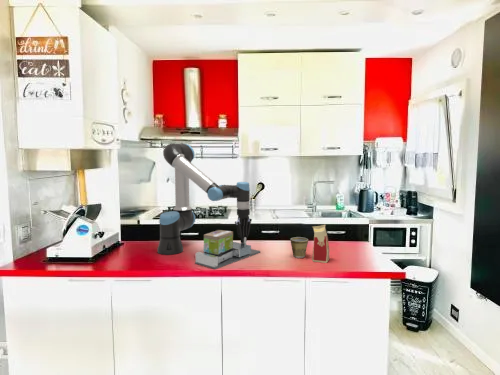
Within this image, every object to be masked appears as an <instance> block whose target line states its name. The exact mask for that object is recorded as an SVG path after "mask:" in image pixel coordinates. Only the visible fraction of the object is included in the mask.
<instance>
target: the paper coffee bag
mask: <svg viewBox="0 0 500 375" xmlns="http://www.w3.org/2000/svg"><path fill="white" fill-rule="evenodd" d="M326 226H327V225H326V224H321V225H317V226H316V225H314V226H312V229H313V233H314V234H313V235H314V236H313V246H312V255H311V260H312V262H316V263H324V264H327V263H328V261H330V245H329V237H328V234H327V229H326Z"/></svg>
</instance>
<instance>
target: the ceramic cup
mask: <svg viewBox="0 0 500 375" xmlns="http://www.w3.org/2000/svg"><path fill="white" fill-rule="evenodd" d="M308 243H309V239H308V238H306V237H301V236H296V237H291V238H290V246H291V252H292V257H293V258H296V259H303V258H305V257H306V253H307V247H308Z"/></svg>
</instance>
